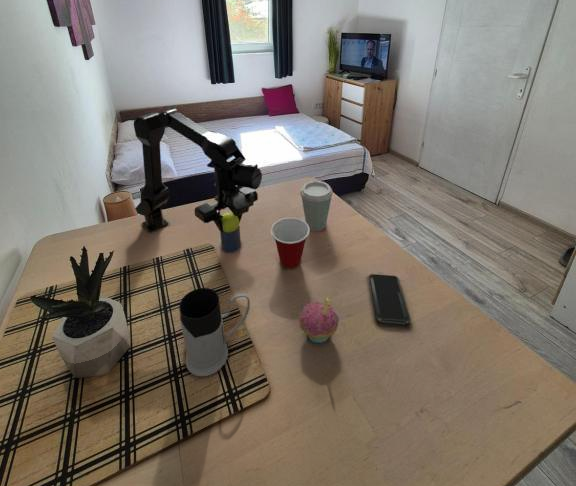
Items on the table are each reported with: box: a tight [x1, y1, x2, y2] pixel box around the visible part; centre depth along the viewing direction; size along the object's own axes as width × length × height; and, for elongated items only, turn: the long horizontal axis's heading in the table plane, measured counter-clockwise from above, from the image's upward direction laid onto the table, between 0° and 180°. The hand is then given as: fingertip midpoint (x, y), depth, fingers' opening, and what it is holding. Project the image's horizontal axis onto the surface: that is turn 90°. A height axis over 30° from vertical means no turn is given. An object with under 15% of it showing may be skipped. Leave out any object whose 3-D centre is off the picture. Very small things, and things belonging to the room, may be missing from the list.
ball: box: [222, 212, 240, 233], centre depth 98 cm, size 6×6×6 cm
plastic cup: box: [270, 216, 311, 270], centre depth 92 cm, size 11×11×12 cm
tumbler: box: [219, 225, 242, 253], centre depth 100 cm, size 6×6×7 cm
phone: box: [368, 273, 411, 327], centre depth 82 cm, size 8×1×15 cm
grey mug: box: [178, 287, 251, 377], centre depth 66 cm, size 9×14×15 cm, turn 113°
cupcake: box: [298, 296, 340, 344], centre depth 71 cm, size 9×8×12 cm
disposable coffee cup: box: [299, 180, 334, 232], centre depth 108 cm, size 11×11×15 cm
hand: (229, 227), depth 98 cm, fingers closed on ball, 6 cm apart
